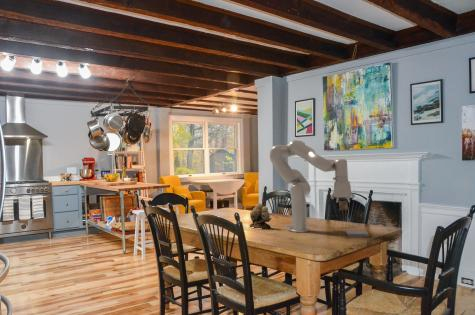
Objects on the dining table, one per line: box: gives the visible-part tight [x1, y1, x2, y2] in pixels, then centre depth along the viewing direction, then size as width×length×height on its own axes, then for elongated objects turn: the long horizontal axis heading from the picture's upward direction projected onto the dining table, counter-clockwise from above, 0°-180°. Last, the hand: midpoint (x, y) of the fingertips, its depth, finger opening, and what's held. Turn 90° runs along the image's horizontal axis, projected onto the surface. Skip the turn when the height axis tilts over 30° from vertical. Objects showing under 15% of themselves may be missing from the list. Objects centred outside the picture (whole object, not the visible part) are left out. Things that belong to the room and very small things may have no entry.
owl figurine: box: [248, 203, 272, 229], centre depth 260 cm, size 18×12×17 cm, turn 49°
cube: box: [338, 200, 349, 211], centre depth 230 cm, size 5×5×5 cm
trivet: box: [345, 230, 370, 238], centre depth 228 cm, size 12×12×2 cm
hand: (343, 208), depth 230 cm, fingers closed on cube, 5 cm apart
